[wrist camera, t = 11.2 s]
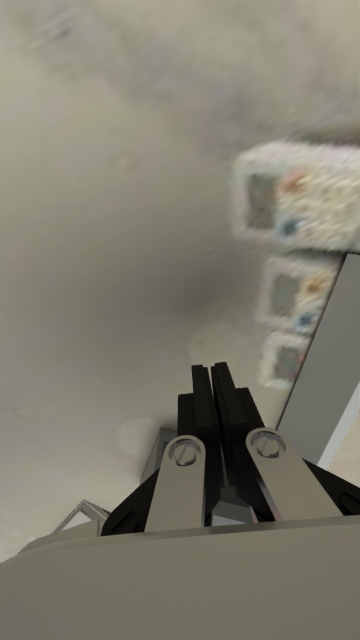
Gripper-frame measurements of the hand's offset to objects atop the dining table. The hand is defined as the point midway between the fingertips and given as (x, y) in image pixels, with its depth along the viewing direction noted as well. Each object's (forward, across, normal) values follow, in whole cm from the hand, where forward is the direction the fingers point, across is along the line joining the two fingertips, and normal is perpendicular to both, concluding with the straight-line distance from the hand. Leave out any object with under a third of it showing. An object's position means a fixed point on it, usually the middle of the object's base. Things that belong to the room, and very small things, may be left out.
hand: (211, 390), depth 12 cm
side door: (+8, -8, +5) cm, 12 cm away
